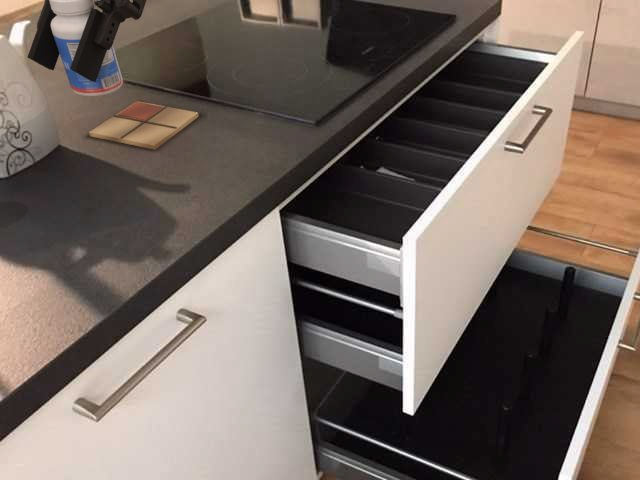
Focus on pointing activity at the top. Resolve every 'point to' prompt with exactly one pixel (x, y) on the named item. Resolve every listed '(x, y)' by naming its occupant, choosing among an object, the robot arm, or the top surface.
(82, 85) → the pill bottle
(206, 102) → the top surface
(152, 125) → the grid board
